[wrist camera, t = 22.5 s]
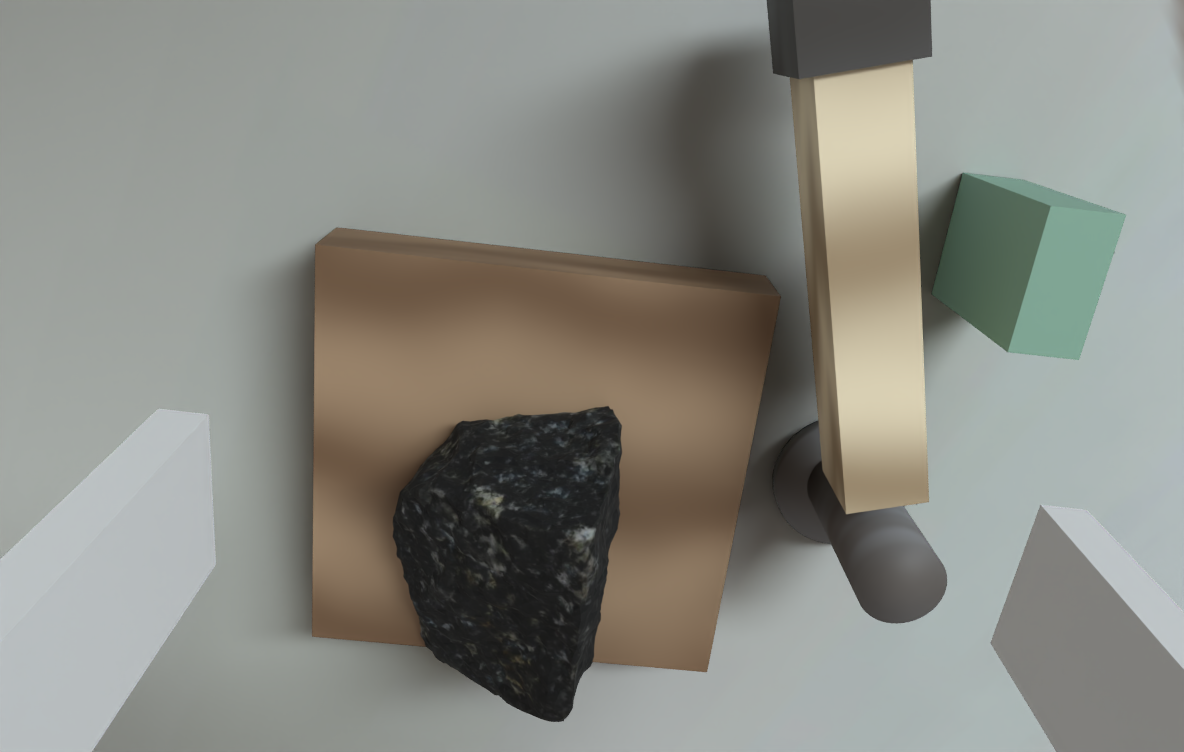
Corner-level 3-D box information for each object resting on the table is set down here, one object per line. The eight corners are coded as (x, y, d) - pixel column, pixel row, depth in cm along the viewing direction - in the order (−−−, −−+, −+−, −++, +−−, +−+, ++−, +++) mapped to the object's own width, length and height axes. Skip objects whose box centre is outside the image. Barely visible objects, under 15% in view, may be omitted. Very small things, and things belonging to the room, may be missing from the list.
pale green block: (962, 172, 29) (1050, 205, 23) (1024, 180, 29) (1126, 214, 23) (931, 294, 30) (1008, 352, 25) (990, 300, 30) (1078, 359, 25)
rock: (413, 662, 32) (378, 791, 27) (395, 395, 29) (351, 481, 23) (611, 664, 32) (617, 792, 27) (619, 398, 29) (627, 484, 23)
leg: (908, 454, 29) (945, 503, 26) (808, 469, 29) (834, 519, 26) (885, -43, 24) (928, -53, 21) (764, -21, 24) (790, -28, 21)
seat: (336, 227, 29) (267, 282, 23) (955, 296, 30) (1054, 367, 24) (330, 595, 34) (272, 724, 28) (862, 644, 35) (923, 779, 29)
